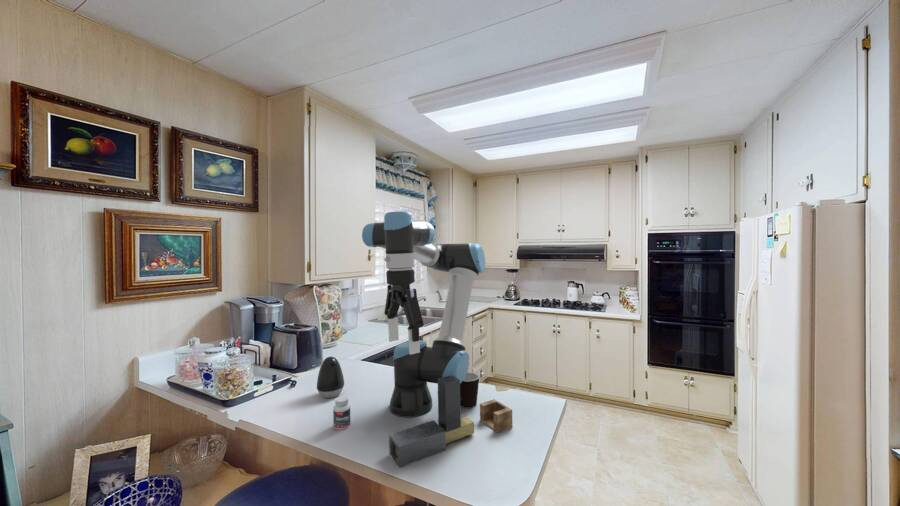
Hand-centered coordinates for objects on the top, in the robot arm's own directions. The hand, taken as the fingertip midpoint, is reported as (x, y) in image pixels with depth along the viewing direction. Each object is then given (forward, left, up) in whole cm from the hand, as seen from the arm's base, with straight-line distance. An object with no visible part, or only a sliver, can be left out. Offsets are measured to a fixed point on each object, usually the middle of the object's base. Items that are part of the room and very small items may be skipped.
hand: (403, 346), depth 92 cm
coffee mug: (-28, +25, -31) cm, 48 cm away
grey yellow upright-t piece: (-3, +9, -30) cm, 31 cm away
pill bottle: (-21, -19, -31) cm, 42 cm away
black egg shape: (-46, -26, -31) cm, 61 cm away
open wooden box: (-11, +30, -30) cm, 44 cm away
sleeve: (-1, +3, -30) cm, 30 cm away
